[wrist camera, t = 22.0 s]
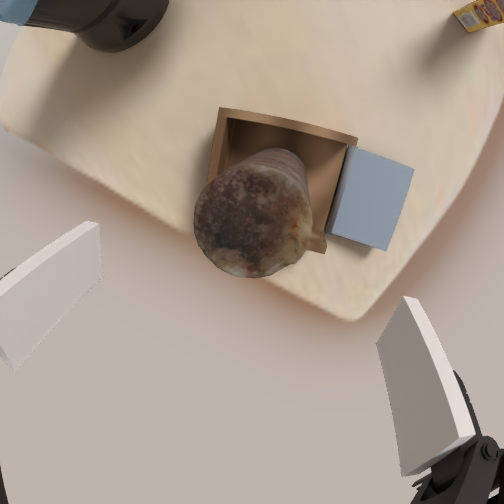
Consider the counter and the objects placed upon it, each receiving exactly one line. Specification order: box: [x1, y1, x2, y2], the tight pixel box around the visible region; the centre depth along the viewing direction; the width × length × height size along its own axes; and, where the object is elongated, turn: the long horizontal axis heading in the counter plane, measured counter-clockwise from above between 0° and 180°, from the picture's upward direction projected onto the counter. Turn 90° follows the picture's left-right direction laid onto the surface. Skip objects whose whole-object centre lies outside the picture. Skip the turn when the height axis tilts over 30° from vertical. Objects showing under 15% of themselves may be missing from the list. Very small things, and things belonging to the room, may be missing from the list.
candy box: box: [453, 0, 504, 33], centre depth 10 cm, size 9×4×15 cm, turn 133°
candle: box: [194, 147, 313, 278], centre depth 25 cm, size 8×7×20 cm
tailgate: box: [325, 145, 414, 251], centre depth 32 cm, size 1×12×9 cm
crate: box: [207, 107, 358, 254], centre depth 32 cm, size 15×14×6 cm
